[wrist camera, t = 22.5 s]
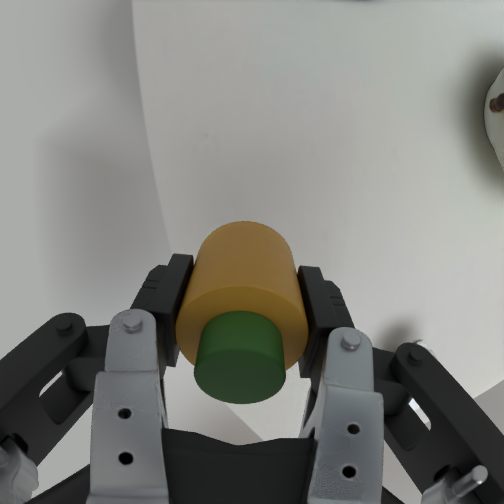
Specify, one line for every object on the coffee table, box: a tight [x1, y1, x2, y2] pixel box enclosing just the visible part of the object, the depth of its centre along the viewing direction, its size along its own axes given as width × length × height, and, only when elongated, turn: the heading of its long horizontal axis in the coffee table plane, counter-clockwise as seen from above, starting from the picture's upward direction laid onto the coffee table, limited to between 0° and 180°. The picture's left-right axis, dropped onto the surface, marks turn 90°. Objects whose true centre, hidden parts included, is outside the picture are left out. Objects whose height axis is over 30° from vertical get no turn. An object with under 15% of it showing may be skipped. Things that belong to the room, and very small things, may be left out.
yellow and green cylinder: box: [175, 221, 309, 404], centre depth 10 cm, size 4×4×6 cm
